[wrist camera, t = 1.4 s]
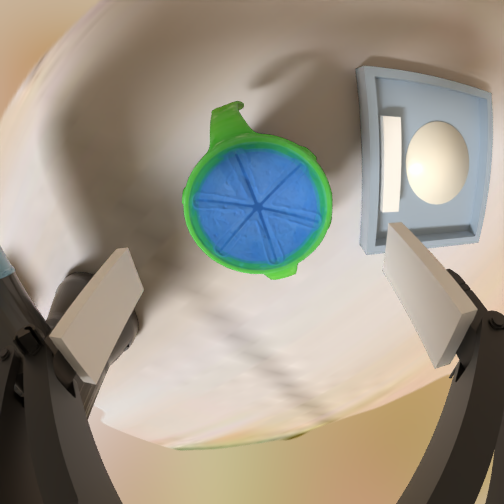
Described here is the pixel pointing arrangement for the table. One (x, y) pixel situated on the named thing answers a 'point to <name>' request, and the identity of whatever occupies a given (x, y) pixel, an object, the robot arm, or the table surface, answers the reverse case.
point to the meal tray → (423, 157)
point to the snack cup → (256, 199)
